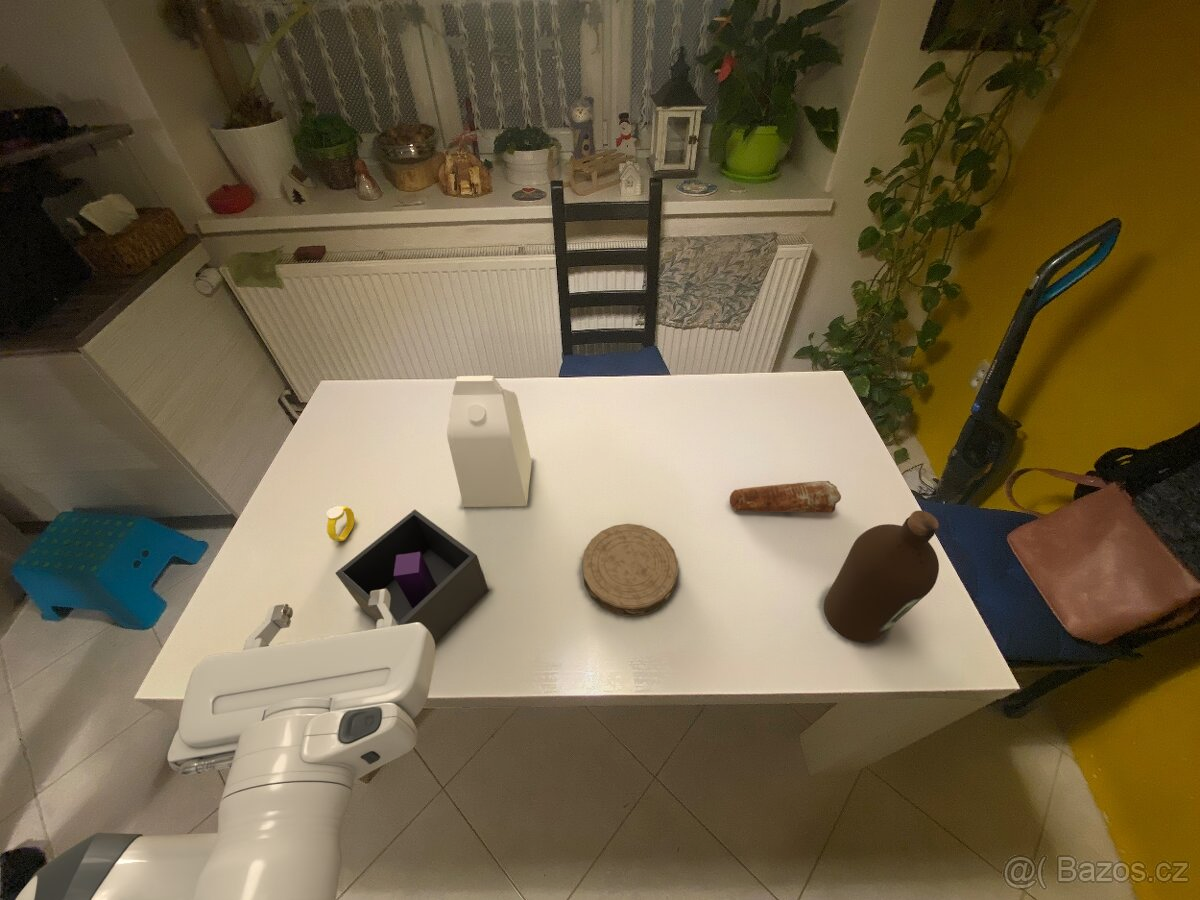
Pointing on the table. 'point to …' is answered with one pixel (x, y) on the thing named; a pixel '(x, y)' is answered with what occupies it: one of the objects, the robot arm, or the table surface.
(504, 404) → the milk
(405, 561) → the purple rectangular block
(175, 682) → the table surface
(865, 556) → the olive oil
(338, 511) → the watch
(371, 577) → the waste bin
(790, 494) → the bread
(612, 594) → the wood slice coaster
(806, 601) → the table surface
